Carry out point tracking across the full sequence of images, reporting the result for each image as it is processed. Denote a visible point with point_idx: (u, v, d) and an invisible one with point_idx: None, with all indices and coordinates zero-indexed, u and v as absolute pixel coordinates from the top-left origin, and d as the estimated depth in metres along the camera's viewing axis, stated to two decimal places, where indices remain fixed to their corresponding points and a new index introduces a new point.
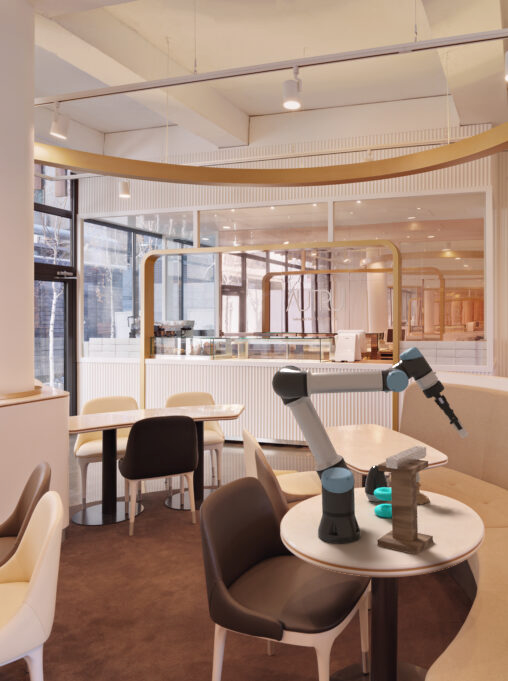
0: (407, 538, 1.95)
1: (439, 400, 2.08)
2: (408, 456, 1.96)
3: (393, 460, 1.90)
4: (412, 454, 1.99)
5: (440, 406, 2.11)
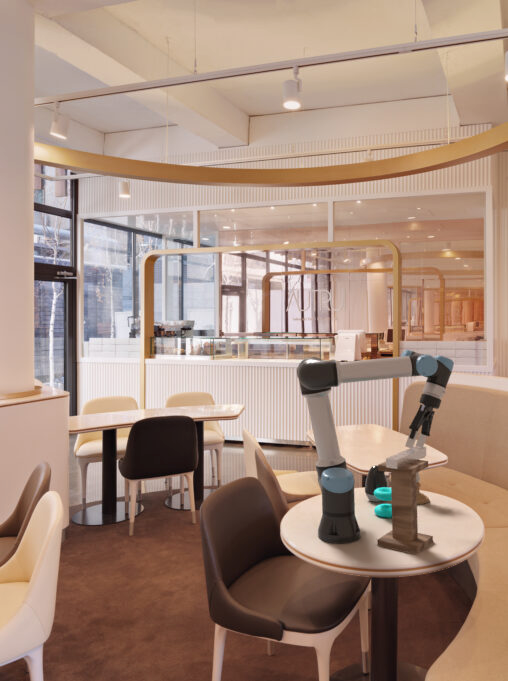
0: (407, 538, 1.95)
1: (421, 406, 2.11)
2: (408, 456, 1.96)
3: (393, 460, 1.90)
4: (412, 454, 1.99)
5: None
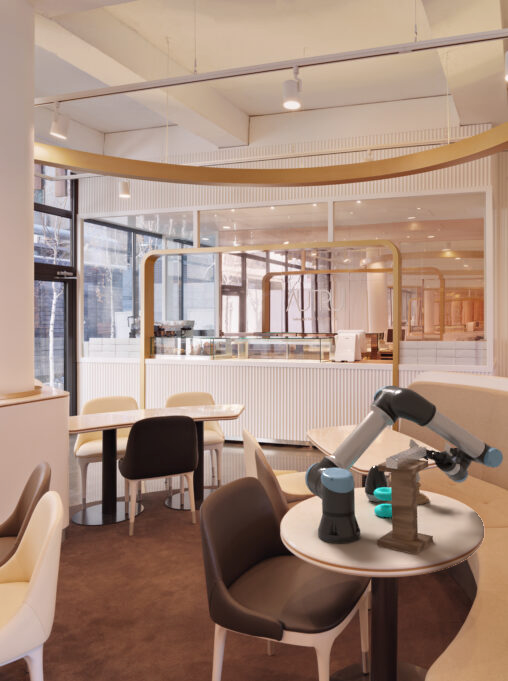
0: (407, 538, 1.95)
1: None
2: (408, 456, 1.96)
3: (393, 460, 1.90)
4: (412, 454, 1.99)
5: None
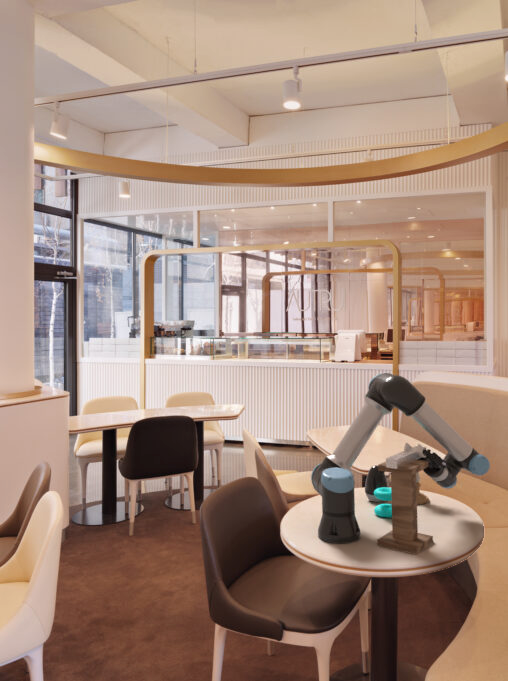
0: (407, 538, 1.95)
1: (445, 463, 2.10)
2: (408, 456, 1.96)
3: (393, 460, 1.90)
4: (412, 454, 1.99)
5: None
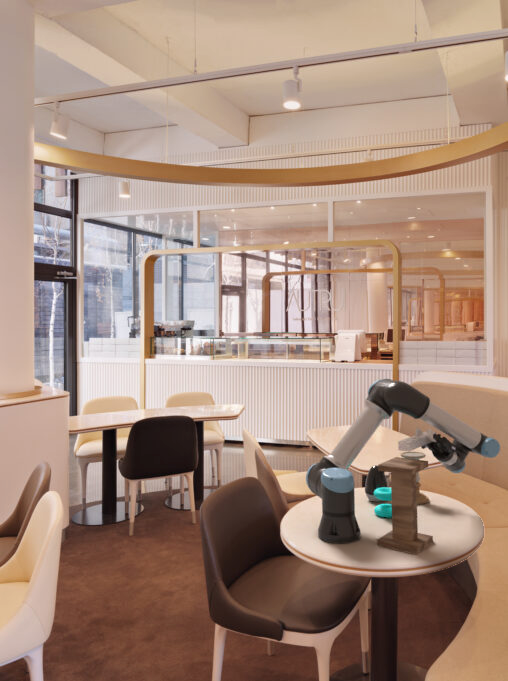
0: (407, 538, 1.95)
1: (455, 447, 2.18)
2: (419, 440, 2.04)
3: (405, 443, 1.98)
4: (423, 438, 2.06)
5: None
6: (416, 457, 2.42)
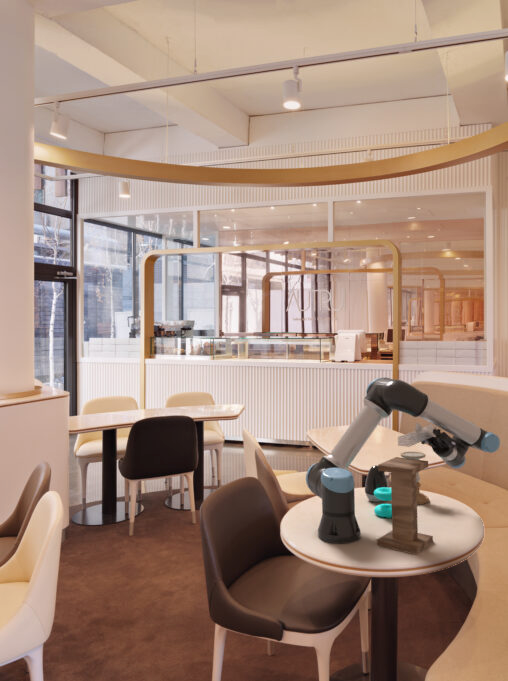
0: (407, 538, 1.95)
1: (454, 442, 2.18)
2: (419, 435, 2.04)
3: (405, 438, 1.98)
4: (423, 433, 2.06)
5: None
6: (416, 457, 2.42)
